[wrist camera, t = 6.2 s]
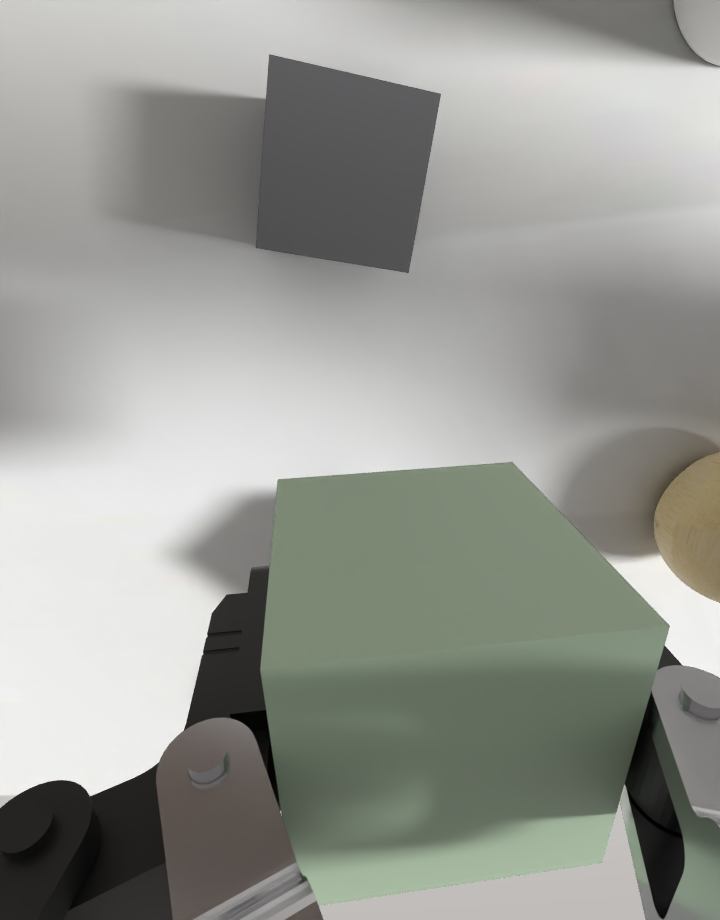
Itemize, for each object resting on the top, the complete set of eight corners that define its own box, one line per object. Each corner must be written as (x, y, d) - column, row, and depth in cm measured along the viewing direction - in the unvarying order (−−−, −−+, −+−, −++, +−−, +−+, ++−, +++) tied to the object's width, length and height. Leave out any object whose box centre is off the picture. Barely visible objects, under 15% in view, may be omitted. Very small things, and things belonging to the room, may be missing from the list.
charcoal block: (406, 128, 19) (441, 93, 15) (383, 265, 21) (408, 272, 17) (275, 100, 18) (269, 54, 14) (264, 246, 20) (255, 247, 16)
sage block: (512, 462, 11) (669, 626, 6) (493, 640, 13) (601, 863, 8) (277, 479, 10) (260, 669, 6) (297, 661, 12) (295, 908, 8)
